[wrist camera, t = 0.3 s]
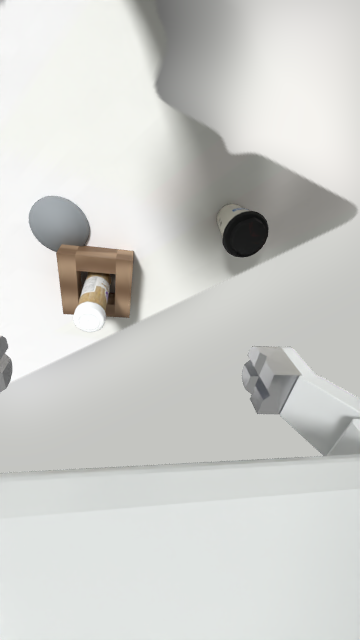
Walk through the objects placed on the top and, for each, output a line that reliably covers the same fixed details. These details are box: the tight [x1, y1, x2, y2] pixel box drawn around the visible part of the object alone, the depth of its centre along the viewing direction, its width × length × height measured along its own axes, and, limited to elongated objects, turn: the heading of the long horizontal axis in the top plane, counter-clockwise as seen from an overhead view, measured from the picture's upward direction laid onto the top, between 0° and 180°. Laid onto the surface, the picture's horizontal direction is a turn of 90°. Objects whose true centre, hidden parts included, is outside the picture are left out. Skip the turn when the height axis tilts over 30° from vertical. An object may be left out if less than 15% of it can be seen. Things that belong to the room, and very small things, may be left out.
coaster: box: [29, 196, 89, 251], centre depth 43 cm, size 9×9×1 cm
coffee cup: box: [217, 204, 268, 257], centre depth 42 cm, size 7×7×10 cm
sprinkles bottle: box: [73, 272, 111, 332], centre depth 44 cm, size 5×5×13 cm
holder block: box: [56, 244, 133, 318], centre depth 48 cm, size 12×12×4 cm
